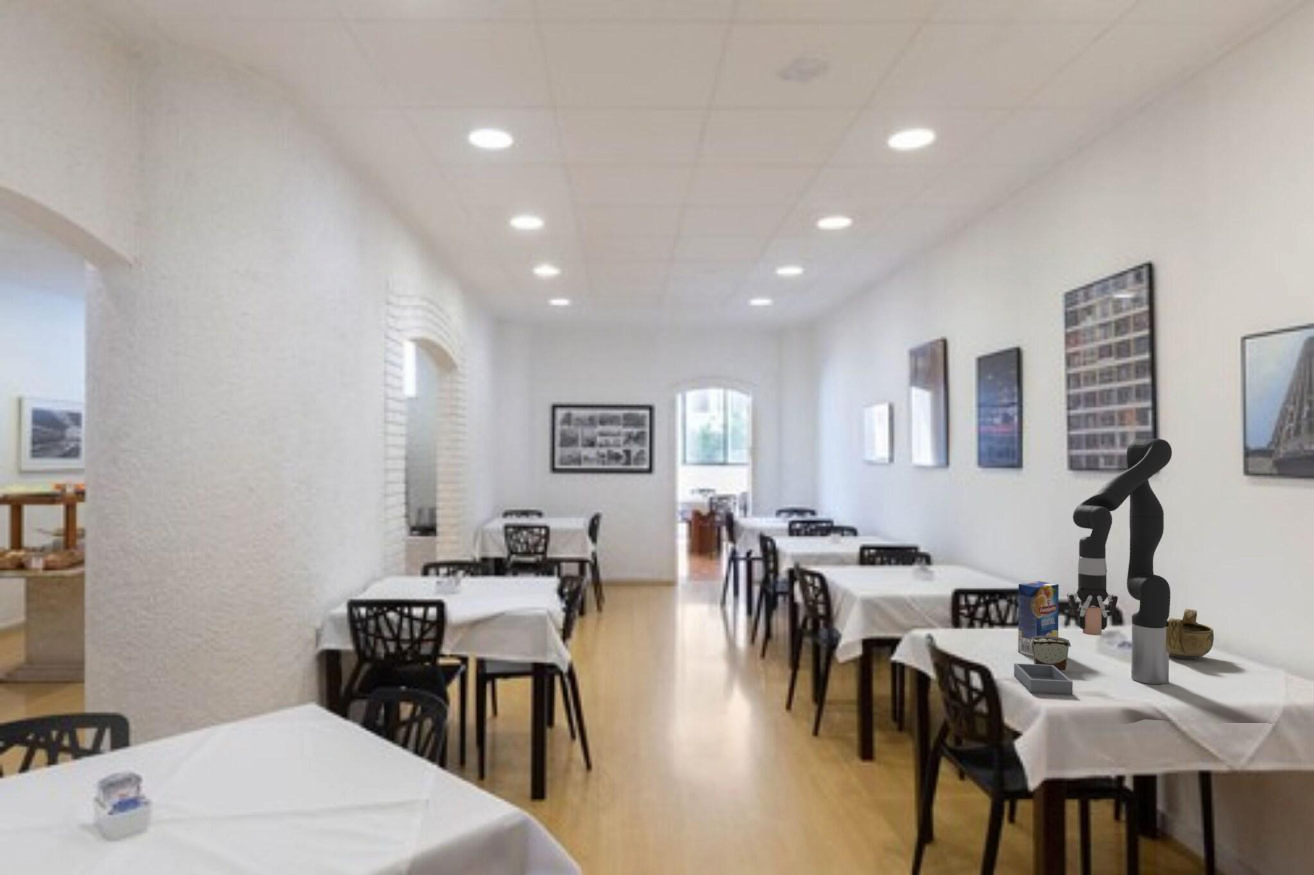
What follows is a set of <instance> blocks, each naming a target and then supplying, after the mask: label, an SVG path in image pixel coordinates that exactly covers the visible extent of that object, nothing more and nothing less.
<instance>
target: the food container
mask: <svg viewBox="0 0 1314 875" xmlns="http://www.w3.org/2000/svg"><path fill="white" fill-rule="evenodd" d="M1030 645H1031V646H1033V655H1034V656H1033V664H1041V665H1054V666H1055V667H1056V668H1057V669H1058V670H1059V671H1061V672H1067V666H1068V658H1069V657H1068V655H1069V648H1070V647H1071V646H1072V645H1071V642H1070V639H1067V638H1064V637H1059V636H1058V637H1054V636H1035V637H1032V639H1031V643H1030Z"/></svg>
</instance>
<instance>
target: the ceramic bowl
mask: <svg viewBox="0 0 1314 875" xmlns="http://www.w3.org/2000/svg"><path fill="white" fill-rule="evenodd" d="M1197 618H1198V611H1197V610H1196V609H1190V608H1185V609H1184V611H1183V616H1182V619H1180V618H1173V617H1172V618H1171V617H1169V618H1168V620H1167V622H1166V651H1167V652H1168V653H1169V656H1171V657H1174V658H1178V659H1182V660H1183V659H1184V660H1194V659H1198V658H1202V657H1204V656H1205V655H1207V654H1208V653H1209V652H1210V651H1211V650H1212V648H1213V645H1214V640H1215V636H1214V635H1215V634H1214V628H1212V627H1211V626H1209V625H1205V624H1200V623H1198V622H1197Z"/></svg>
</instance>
